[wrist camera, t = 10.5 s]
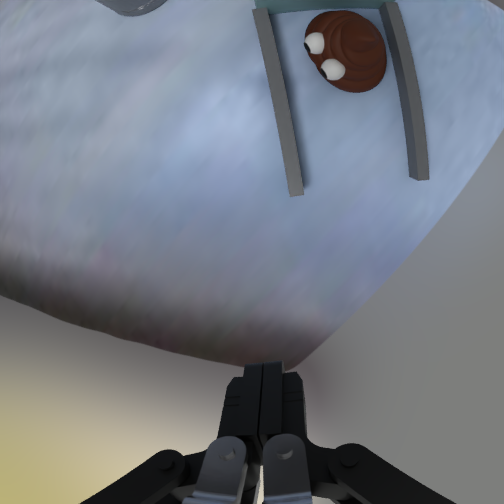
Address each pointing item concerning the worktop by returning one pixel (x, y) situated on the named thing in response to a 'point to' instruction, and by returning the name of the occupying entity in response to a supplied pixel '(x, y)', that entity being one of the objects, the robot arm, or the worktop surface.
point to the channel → (274, 3)
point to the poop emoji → (346, 50)
